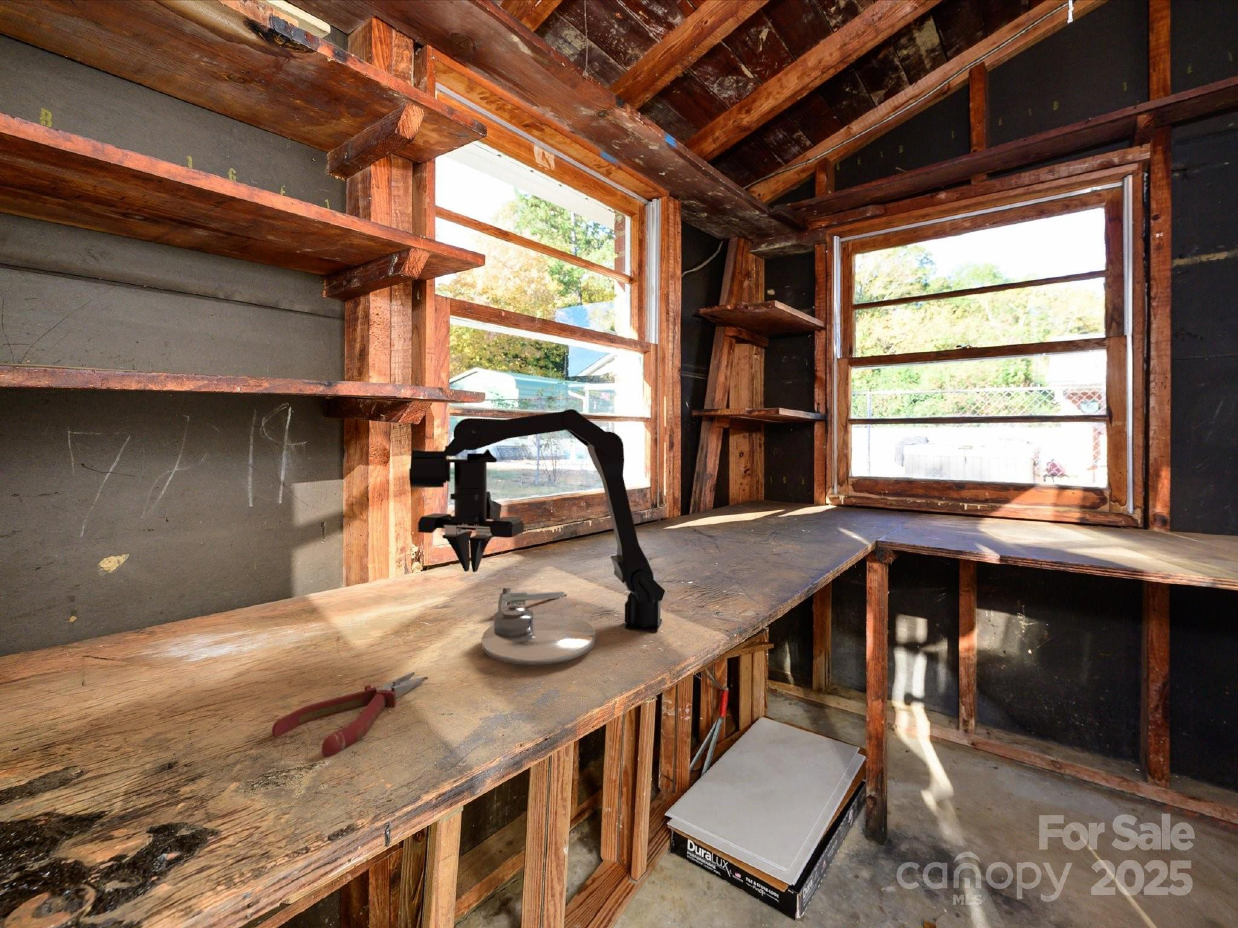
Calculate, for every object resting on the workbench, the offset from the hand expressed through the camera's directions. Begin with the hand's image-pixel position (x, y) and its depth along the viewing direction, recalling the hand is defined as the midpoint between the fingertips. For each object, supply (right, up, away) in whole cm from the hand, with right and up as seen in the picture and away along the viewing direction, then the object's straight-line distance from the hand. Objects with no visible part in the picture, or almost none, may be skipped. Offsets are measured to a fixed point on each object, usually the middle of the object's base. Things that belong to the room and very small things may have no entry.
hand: (471, 571), depth 100 cm
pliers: (-7, -15, -26) cm, 31 cm away
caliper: (+9, -12, +21) cm, 26 cm away
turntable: (+13, -12, -2) cm, 18 cm away
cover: (+8, -11, -1) cm, 13 cm away
